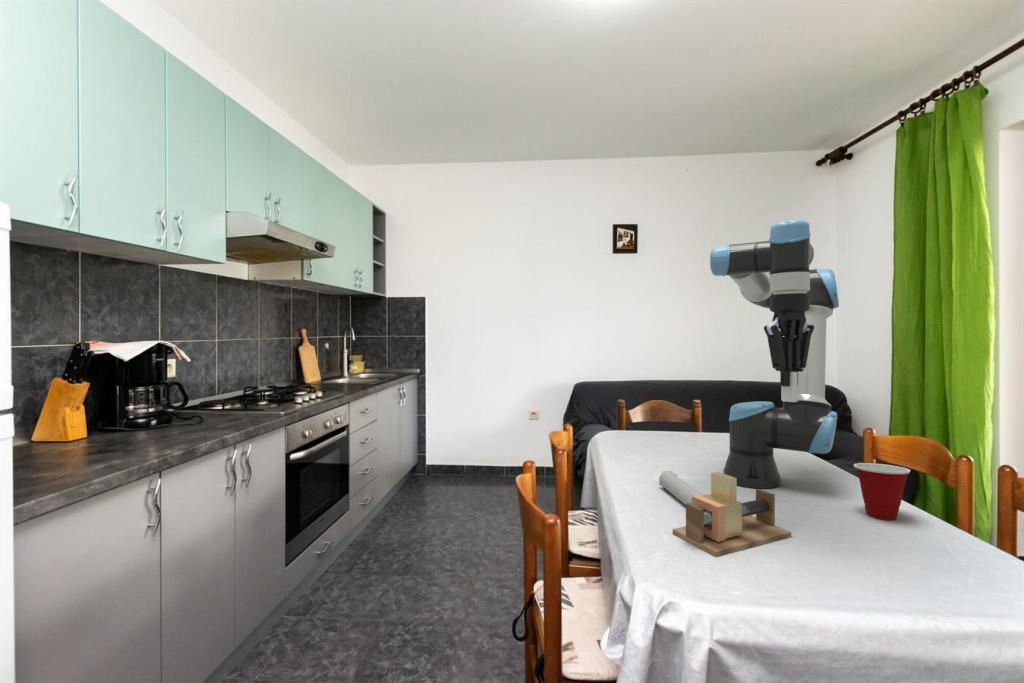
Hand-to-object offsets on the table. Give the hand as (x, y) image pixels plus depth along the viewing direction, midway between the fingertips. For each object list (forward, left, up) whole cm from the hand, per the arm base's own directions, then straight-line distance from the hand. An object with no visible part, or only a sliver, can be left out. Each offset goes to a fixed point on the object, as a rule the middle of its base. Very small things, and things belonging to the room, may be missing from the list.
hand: (789, 401), depth 105 cm
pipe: (+13, -4, -26) cm, 29 cm away
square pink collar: (+19, -4, -28) cm, 34 cm away
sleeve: (+16, -4, -27) cm, 32 cm away
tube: (+7, -23, -30) cm, 38 cm away
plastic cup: (-28, +3, -29) cm, 41 cm away
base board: (+13, -4, -29) cm, 32 cm away
